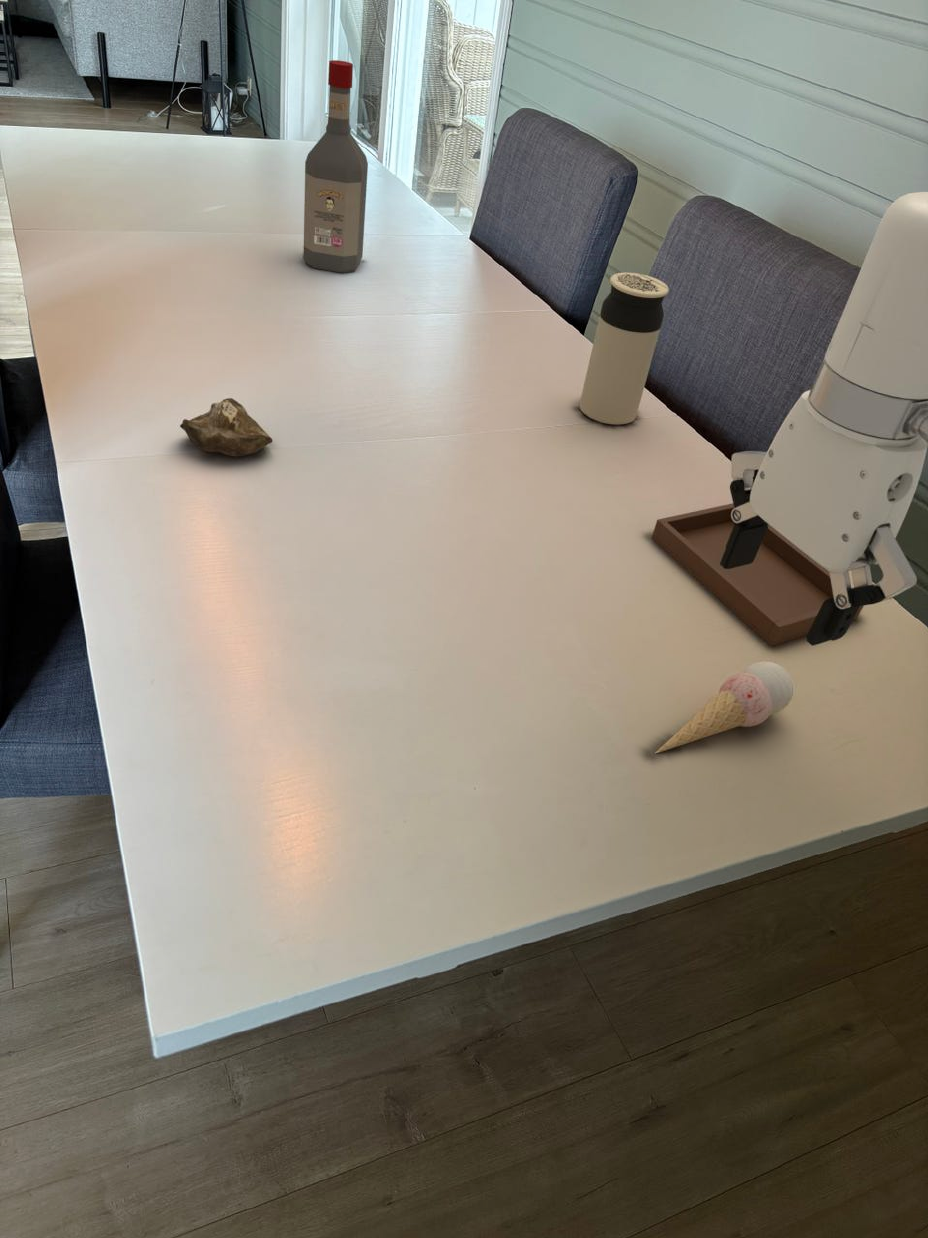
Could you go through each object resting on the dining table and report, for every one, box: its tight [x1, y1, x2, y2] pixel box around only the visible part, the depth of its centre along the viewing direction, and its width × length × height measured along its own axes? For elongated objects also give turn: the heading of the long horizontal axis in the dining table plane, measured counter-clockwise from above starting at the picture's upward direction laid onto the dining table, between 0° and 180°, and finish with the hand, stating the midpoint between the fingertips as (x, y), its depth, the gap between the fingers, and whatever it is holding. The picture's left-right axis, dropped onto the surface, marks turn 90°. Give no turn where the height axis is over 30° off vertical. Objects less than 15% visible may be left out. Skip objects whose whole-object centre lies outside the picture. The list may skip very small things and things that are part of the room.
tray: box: [651, 502, 864, 647], centre depth 99 cm, size 20×13×2 cm, turn 29°
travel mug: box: [578, 272, 670, 426], centre depth 120 cm, size 8×8×18 cm
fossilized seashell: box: [179, 397, 273, 458], centre depth 104 cm, size 8×7×10 cm
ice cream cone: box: [653, 661, 794, 755], centre depth 79 cm, size 5×5×15 cm
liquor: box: [302, 59, 369, 274], centre depth 148 cm, size 9×9×30 cm
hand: (777, 600), depth 71 cm, fingers open, 9 cm apart
